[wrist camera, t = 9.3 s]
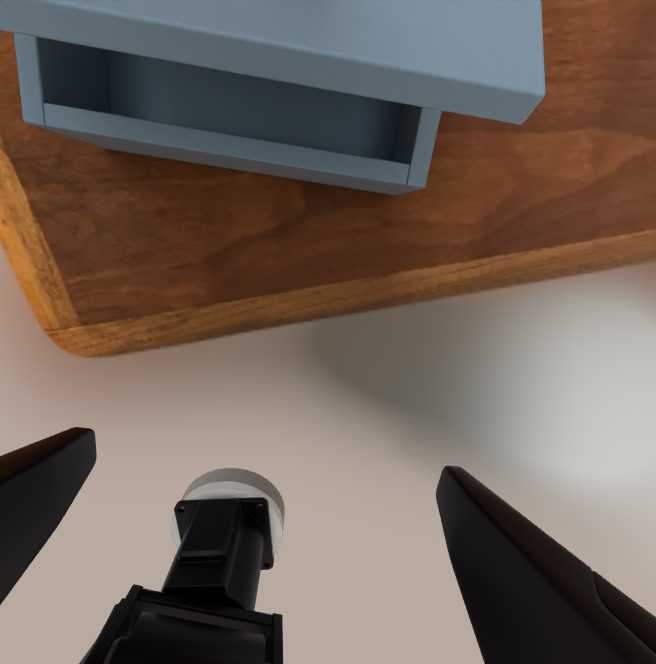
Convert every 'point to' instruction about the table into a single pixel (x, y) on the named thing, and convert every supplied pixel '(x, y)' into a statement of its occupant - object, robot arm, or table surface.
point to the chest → (224, 118)
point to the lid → (326, 44)
